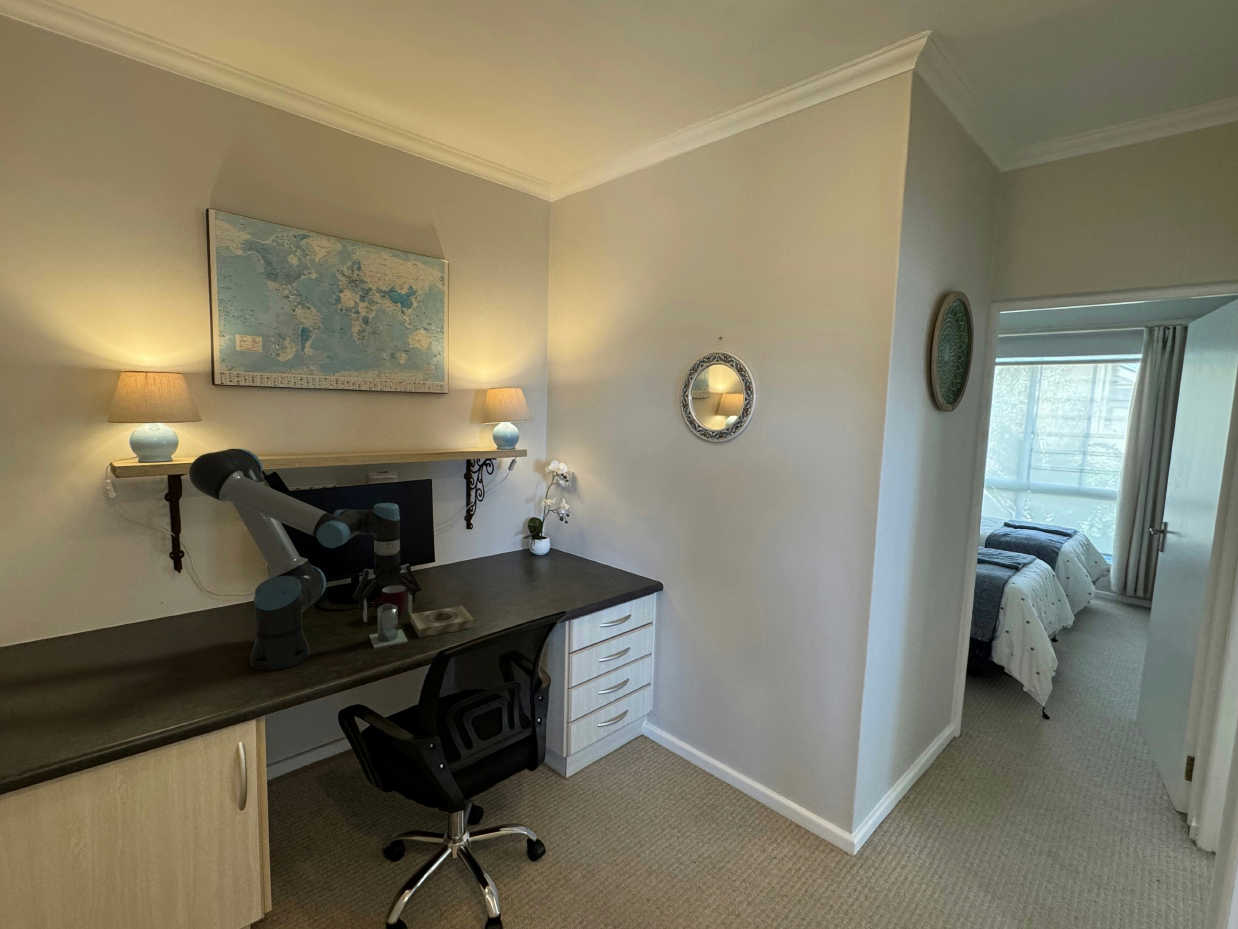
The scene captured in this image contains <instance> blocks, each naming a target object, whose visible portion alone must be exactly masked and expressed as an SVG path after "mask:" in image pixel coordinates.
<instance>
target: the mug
mask: <svg viewBox="0 0 1238 929" xmlns="http://www.w3.org/2000/svg"><path fill="white" fill-rule="evenodd" d="M406 599H407V589H406V588H405V587H404V586H403V585H398V584H397V585H396V584H395V585H389V586H385V587H383V588H382V590H381V596H380V597H378V598H377V599H376V600H375V601H374V604H373V606H374V608H375V610H376V611H377V609H378V603H379V602H381V601H382V605H383V604H387V603H391V604H392V605H396V606H397V607H398V618H399V617H401V616H402V613H403V612H404V610H405V606H406Z"/></svg>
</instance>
